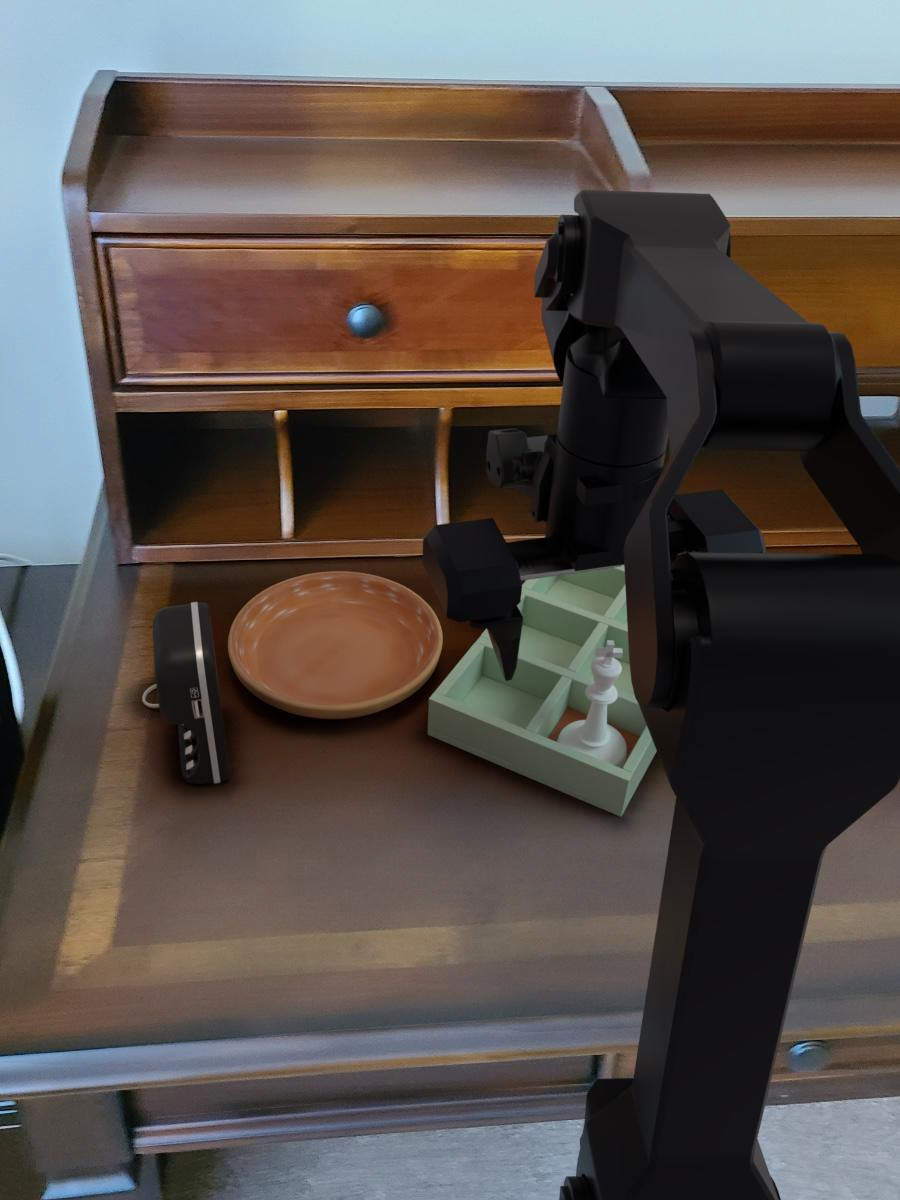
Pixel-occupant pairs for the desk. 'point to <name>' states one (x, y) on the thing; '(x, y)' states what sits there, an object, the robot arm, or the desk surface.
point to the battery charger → (191, 690)
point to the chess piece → (599, 712)
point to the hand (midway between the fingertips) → (577, 664)
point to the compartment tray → (550, 691)
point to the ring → (146, 695)
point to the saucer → (335, 644)
